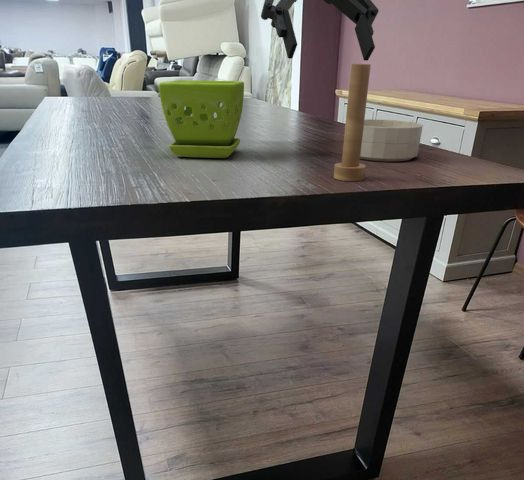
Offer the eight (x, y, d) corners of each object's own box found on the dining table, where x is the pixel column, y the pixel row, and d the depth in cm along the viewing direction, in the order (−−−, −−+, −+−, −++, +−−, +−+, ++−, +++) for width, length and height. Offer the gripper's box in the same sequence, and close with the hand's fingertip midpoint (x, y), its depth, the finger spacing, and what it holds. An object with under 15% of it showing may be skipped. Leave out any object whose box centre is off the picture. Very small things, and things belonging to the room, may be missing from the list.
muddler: (355, 174, 82) (368, 64, 74) (370, 180, 78) (384, 64, 70) (328, 175, 81) (337, 63, 73) (341, 182, 77) (353, 63, 69)
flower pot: (245, 150, 101) (246, 80, 95) (237, 162, 89) (236, 83, 83) (179, 147, 102) (174, 78, 96) (161, 159, 90) (155, 81, 84)
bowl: (393, 149, 106) (397, 118, 103) (431, 161, 95) (438, 127, 92) (333, 151, 102) (336, 119, 99) (366, 163, 91) (370, 128, 88)
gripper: (359, -24, 90) (388, 72, 86) (228, -35, 84) (253, 69, 79) (377, -67, 83) (410, 35, 79) (236, -82, 77) (264, 29, 72)
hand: (332, 52), depth 79 cm, fingers open, 13 cm apart
